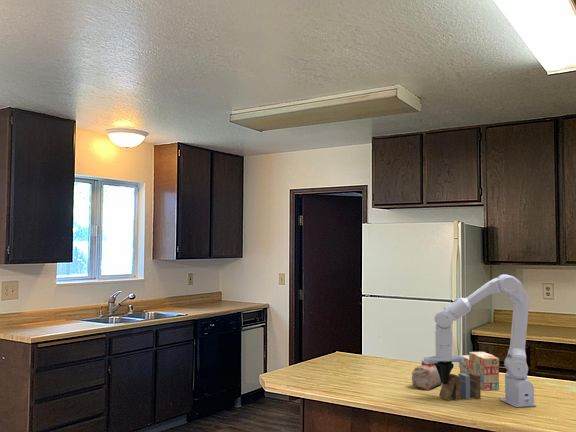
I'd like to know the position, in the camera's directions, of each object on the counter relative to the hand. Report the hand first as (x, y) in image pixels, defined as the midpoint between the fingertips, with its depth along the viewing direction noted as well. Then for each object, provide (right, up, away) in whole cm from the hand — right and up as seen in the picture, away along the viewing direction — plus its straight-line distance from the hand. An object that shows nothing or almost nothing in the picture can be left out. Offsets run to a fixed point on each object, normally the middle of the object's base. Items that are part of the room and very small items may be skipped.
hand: (444, 383), depth 203 cm
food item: (-1, -7, +17) cm, 19 cm away
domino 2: (+4, -5, +1) cm, 7 cm away
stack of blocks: (+20, -7, +22) cm, 31 cm away
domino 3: (+12, -6, +3) cm, 13 cm away
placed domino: (+8, -6, +2) cm, 10 cm away
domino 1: (0, -5, 0) cm, 5 cm away
